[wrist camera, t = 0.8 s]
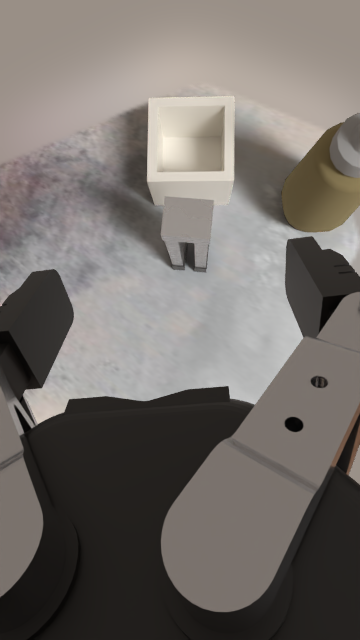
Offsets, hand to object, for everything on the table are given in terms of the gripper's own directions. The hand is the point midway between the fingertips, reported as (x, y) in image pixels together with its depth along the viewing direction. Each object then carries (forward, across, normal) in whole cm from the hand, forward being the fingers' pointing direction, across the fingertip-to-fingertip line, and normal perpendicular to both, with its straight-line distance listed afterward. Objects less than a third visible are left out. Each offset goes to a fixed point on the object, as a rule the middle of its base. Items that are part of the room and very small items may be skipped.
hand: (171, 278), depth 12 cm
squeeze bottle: (+31, -14, +10) cm, 35 cm away
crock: (+34, 0, +4) cm, 34 cm away
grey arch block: (+27, +1, +13) cm, 30 cm away
